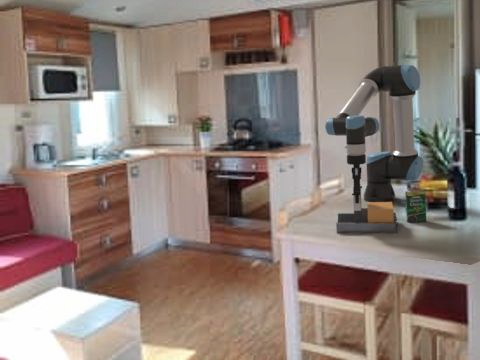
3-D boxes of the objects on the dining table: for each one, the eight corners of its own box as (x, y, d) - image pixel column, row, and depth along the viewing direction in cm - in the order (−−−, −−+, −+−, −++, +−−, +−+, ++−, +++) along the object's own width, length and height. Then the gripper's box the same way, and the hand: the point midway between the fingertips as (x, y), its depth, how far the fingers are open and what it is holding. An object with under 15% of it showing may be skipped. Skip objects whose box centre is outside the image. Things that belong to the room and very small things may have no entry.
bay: (336, 233, 229) (336, 223, 228) (338, 222, 244) (337, 213, 243) (397, 232, 223) (397, 223, 223) (395, 221, 239) (395, 212, 238)
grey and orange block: (354, 228, 229) (353, 190, 226) (354, 220, 240) (353, 184, 237) (393, 228, 225) (393, 190, 222) (392, 220, 237) (391, 183, 234)
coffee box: (406, 222, 237) (406, 192, 234) (405, 220, 239) (405, 190, 237) (426, 222, 235) (426, 191, 233) (425, 220, 238) (425, 190, 235)
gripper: (347, 150, 240) (348, 200, 244) (345, 158, 218) (347, 214, 223) (365, 149, 238) (366, 200, 243) (365, 158, 217) (367, 214, 221)
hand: (357, 207), depth 233 cm, fingers open, 10 cm apart
